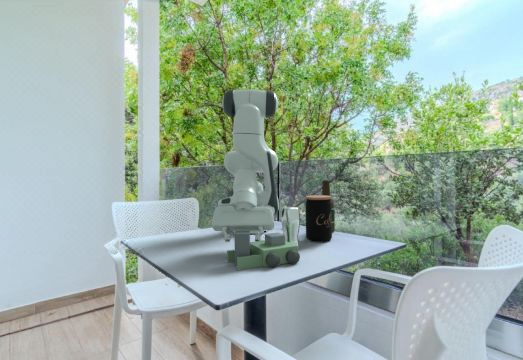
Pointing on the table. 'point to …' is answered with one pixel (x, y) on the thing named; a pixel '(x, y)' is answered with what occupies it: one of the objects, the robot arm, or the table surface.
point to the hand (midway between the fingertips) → (242, 240)
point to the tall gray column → (242, 244)
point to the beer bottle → (327, 193)
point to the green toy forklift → (267, 253)
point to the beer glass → (291, 224)
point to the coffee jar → (318, 218)
